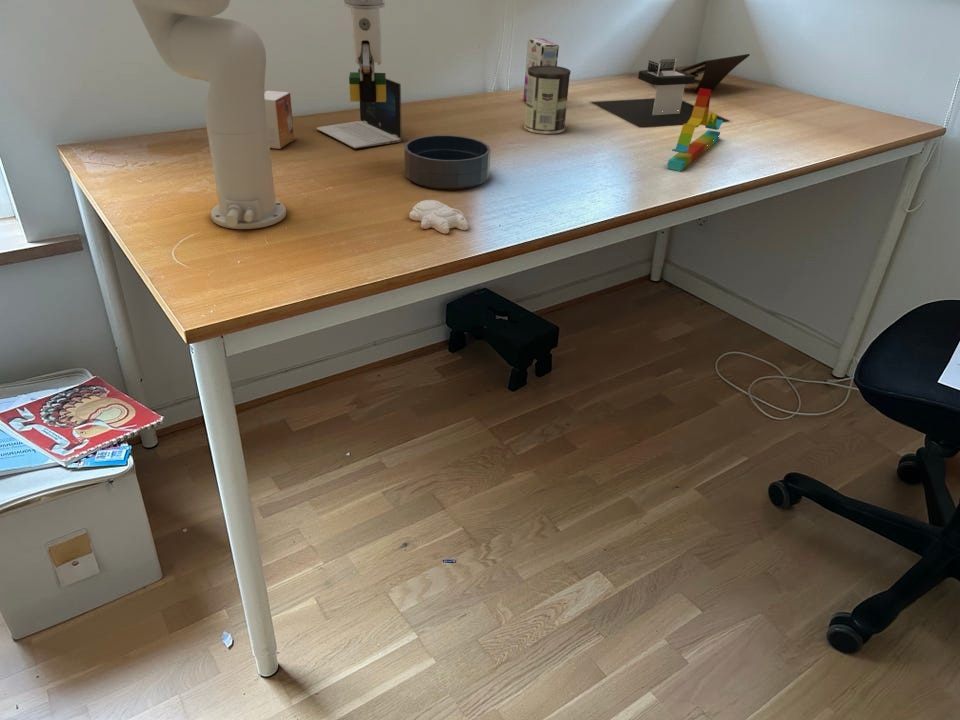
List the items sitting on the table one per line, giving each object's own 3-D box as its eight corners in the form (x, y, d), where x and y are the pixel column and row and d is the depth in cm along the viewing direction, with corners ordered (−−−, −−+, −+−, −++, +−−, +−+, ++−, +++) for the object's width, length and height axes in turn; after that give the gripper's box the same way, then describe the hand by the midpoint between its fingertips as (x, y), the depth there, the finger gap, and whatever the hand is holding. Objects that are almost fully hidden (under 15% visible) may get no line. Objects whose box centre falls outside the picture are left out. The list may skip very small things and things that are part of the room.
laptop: (315, 130, 174) (311, 73, 167) (361, 123, 180) (359, 67, 173) (354, 150, 162) (351, 89, 155) (402, 142, 169) (401, 83, 162)
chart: (705, 137, 183) (719, 74, 175) (718, 139, 182) (732, 76, 174) (666, 168, 161) (679, 97, 153) (680, 171, 160) (694, 100, 152)
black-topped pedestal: (674, 97, 218) (683, 49, 211) (729, 121, 198) (741, 69, 190) (591, 102, 209) (597, 52, 202) (640, 127, 188) (648, 72, 181)
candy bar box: (553, 109, 200) (559, 45, 191) (536, 110, 199) (542, 45, 190) (538, 99, 209) (544, 37, 200) (522, 99, 208) (527, 37, 199)
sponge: (386, 102, 145) (385, 78, 142) (350, 101, 144) (349, 77, 142) (386, 96, 149) (385, 72, 146) (351, 95, 148) (350, 72, 146)
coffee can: (553, 121, 189) (558, 64, 182) (571, 133, 181) (578, 73, 174) (516, 124, 186) (520, 65, 178) (534, 135, 178) (539, 74, 170)
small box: (280, 149, 160) (275, 100, 155) (256, 147, 161) (250, 97, 155) (295, 139, 167) (290, 92, 161) (272, 137, 168) (267, 89, 162)
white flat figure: (431, 237, 124) (431, 220, 122) (402, 212, 133) (402, 196, 131) (476, 229, 128) (477, 213, 126) (445, 206, 136) (446, 190, 135)
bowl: (494, 191, 144) (495, 161, 141) (406, 191, 142) (406, 160, 139) (483, 163, 159) (484, 135, 155) (403, 163, 156) (403, 134, 153)
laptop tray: (692, 97, 245) (686, 69, 243) (753, 77, 226) (748, 46, 224) (648, 106, 232) (642, 76, 230) (710, 85, 213) (704, 53, 211)
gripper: (384, 4, 130) (387, 109, 140) (384, -8, 144) (386, 88, 154) (341, 3, 129) (347, 109, 139) (345, -9, 143) (350, 87, 153)
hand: (368, 97), depth 146 cm, fingers closed on sponge, 4 cm apart
